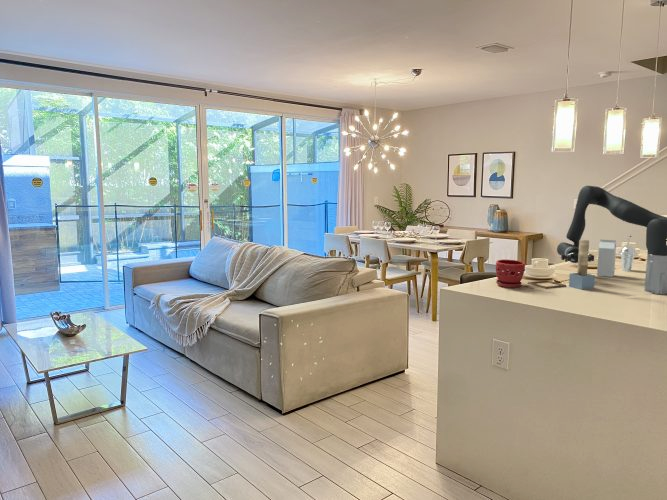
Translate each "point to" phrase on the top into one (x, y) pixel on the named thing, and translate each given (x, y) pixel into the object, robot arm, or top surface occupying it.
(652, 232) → the robot arm
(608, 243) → the milk carton
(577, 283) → the blue cube
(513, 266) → the plant pot
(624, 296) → the top surface
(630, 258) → the cup with straw
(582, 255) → the oak dowel
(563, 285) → the walnut tray
